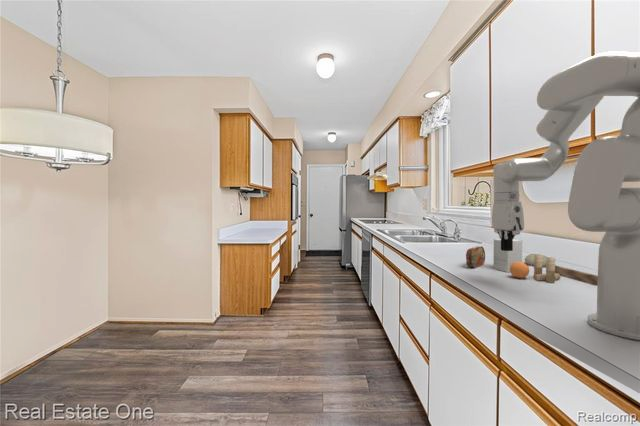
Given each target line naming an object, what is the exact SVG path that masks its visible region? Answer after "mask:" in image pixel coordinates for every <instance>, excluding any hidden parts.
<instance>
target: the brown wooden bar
mask: <svg viewBox="0 0 640 426" xmlns="http://www.w3.org/2000/svg"><path fill="white" fill-rule="evenodd" d="M555 273H558V274H560V277H561V276H562V277H565V278H568V279H573V280H575V281H579V282H583V283H586V284H590V285H593V286H597V285H598V274H597V275H596V274H592V273H588V272H584V271H580V270H577V269H576V270H575V269H571V268H568V267H563V266H559V265H556V264H555Z"/></svg>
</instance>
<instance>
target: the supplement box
mask: <svg viewBox="0 0 640 426" xmlns="http://www.w3.org/2000/svg"><path fill="white" fill-rule="evenodd" d="M514 262H523V240H520V239H515V238H514V239H513V250H512V251H502V250H501V239H500V238H495V239H493V269H494V270H498V271H503V272H506V273H511V272H510V266H511V265H512V264H513V263H514Z"/></svg>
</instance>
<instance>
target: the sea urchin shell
mask: <svg viewBox="0 0 640 426" xmlns="http://www.w3.org/2000/svg"><path fill="white" fill-rule="evenodd" d="M534 255H542V256H543V260H542V268H546V258H547V257H548V256H546V255H543V254H541V253H540V254H539V253H538V254H537V253H531V254H528V255H526V257H525V258H524V262H525V264H526V265H527V266H532V267H534Z"/></svg>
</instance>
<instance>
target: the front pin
mask: <svg viewBox="0 0 640 426" xmlns="http://www.w3.org/2000/svg"><path fill="white" fill-rule="evenodd" d="M533 279H534V280H535V281H537V282H541V281H545V282H546V273H542V274H535V275H534V274H533ZM557 280H561V276H560V274H558V273H555V281H557Z"/></svg>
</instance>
